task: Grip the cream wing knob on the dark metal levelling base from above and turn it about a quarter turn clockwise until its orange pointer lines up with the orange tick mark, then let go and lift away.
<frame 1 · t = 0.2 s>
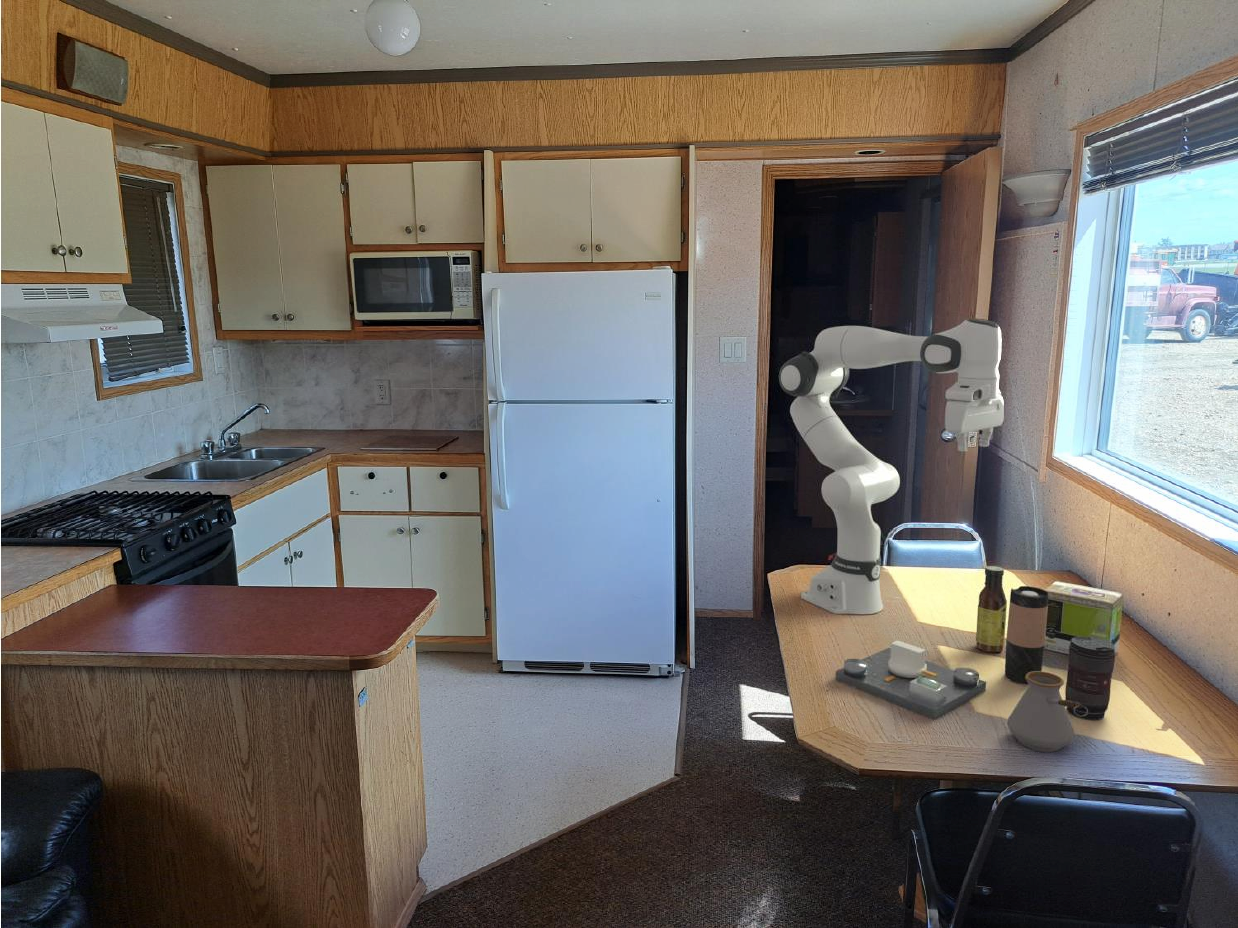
hand: (973, 448, 204), 48 cm above the table, tool pointing down, fingers open, 8 cm apart
tea box: (1077, 650, 207), on the table
sauce bottle: (989, 649, 208), on the table
camera lens: (1085, 713, 176), on the table
coffee pot: (1049, 755, 160), on the table
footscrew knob: (913, 660, 190), point 5 cm above the table, hinge at 0.0°
levelling base: (909, 684, 189), on the table
travel mug: (1022, 678, 192), on the table
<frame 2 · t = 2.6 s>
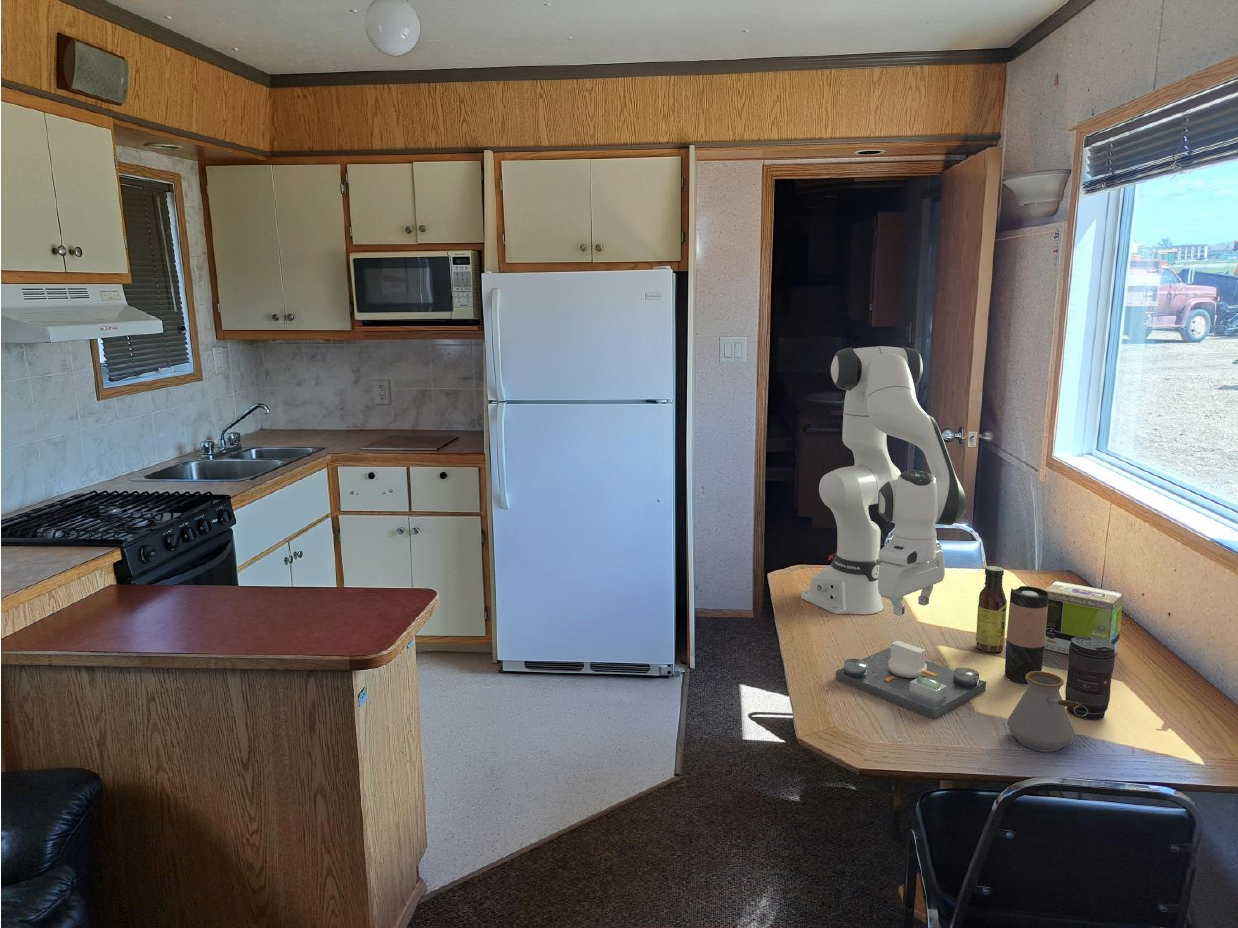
hand: (911, 609, 188), 16 cm above the table, tool pointing down, fingers open, 8 cm apart
nothing on the table moved.
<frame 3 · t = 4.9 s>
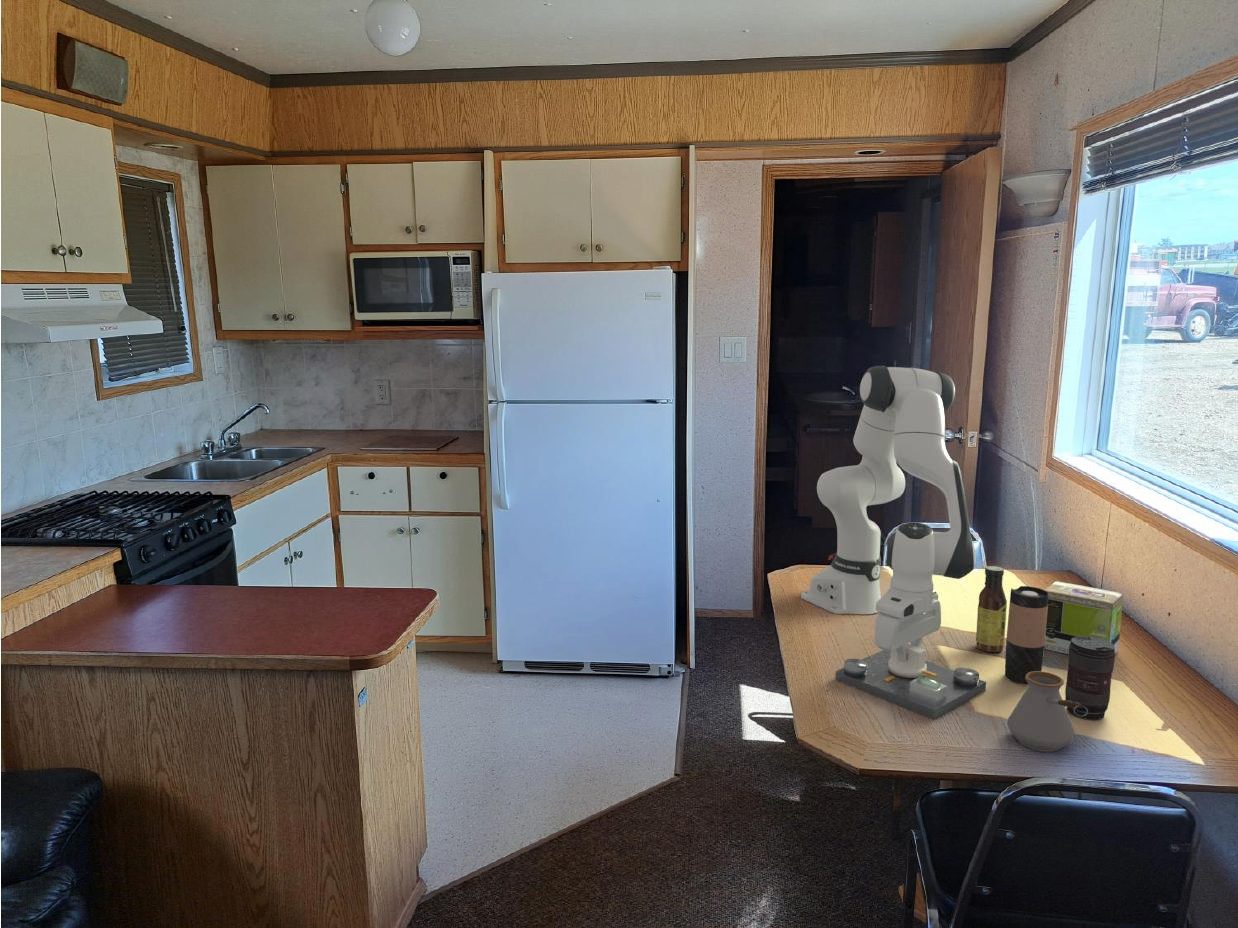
hand: (907, 658, 191), 5 cm above the table, tool pointing down, fingers closed on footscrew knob, 2 cm apart
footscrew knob: (913, 660, 190), point 5 cm above the table, hinge at 0.0°, touching gripper
everything else where it was.
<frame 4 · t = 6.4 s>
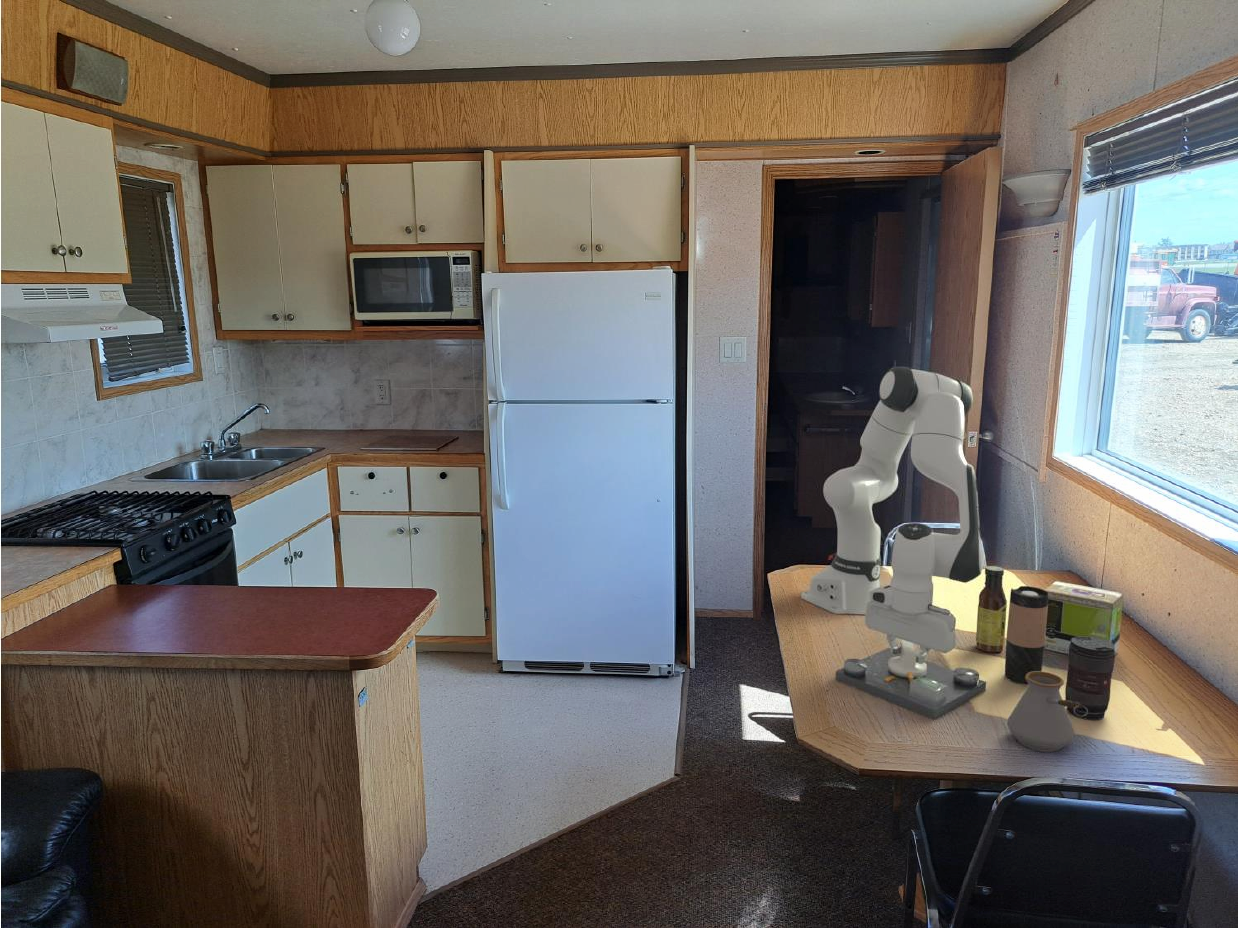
hand: (907, 658, 191), 5 cm above the table, tool pointing down, fingers closed on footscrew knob, 4 cm apart
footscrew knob: (908, 661, 189), point 5 cm above the table, hinge at -50.4°, touching gripper
everything else where it was.
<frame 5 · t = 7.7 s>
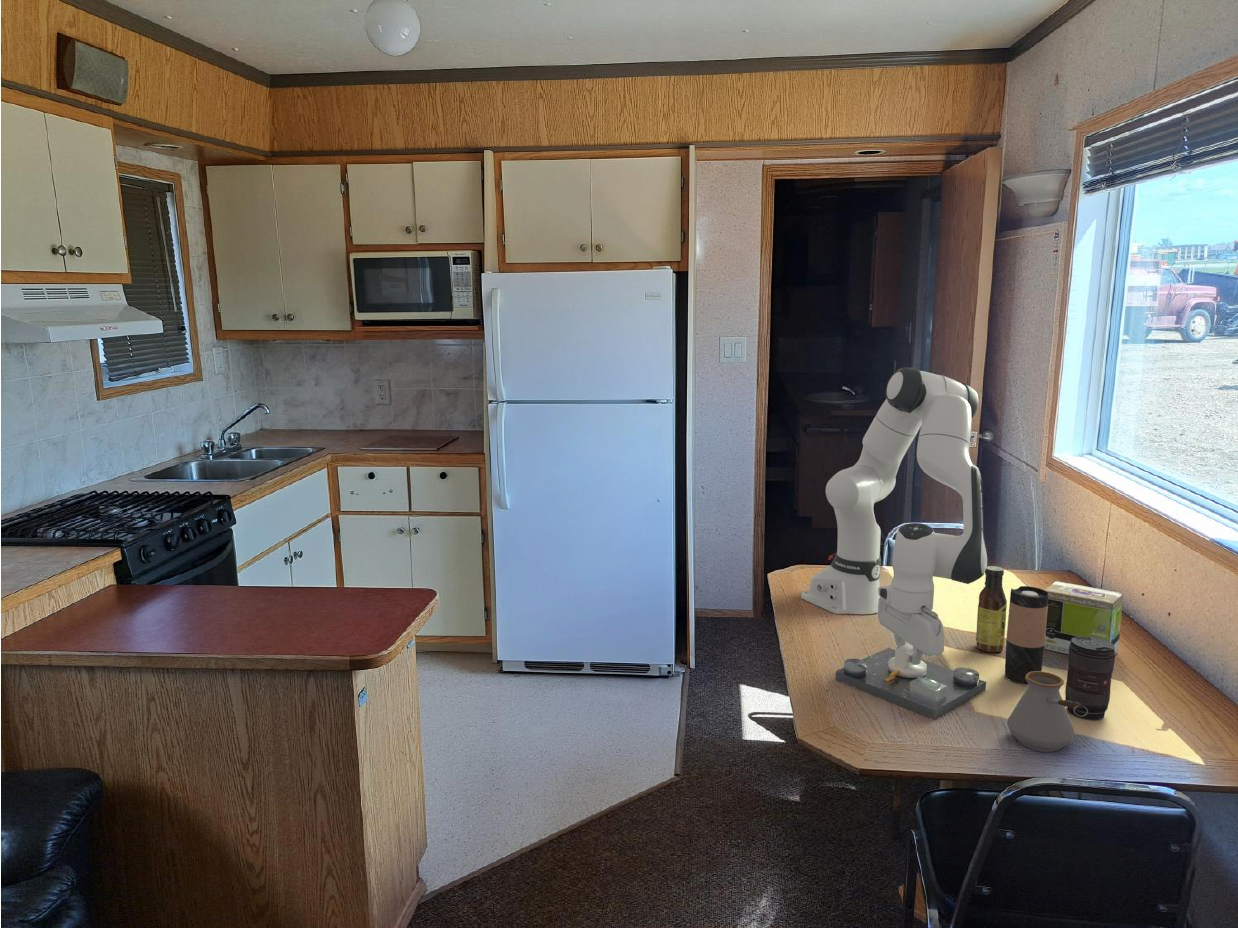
hand: (908, 658, 191), 5 cm above the table, tool pointing down, fingers closed on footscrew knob, 3 cm apart
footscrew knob: (904, 660, 190), point 5 cm above the table, hinge at -84.8°, touching gripper
everything else where it was.
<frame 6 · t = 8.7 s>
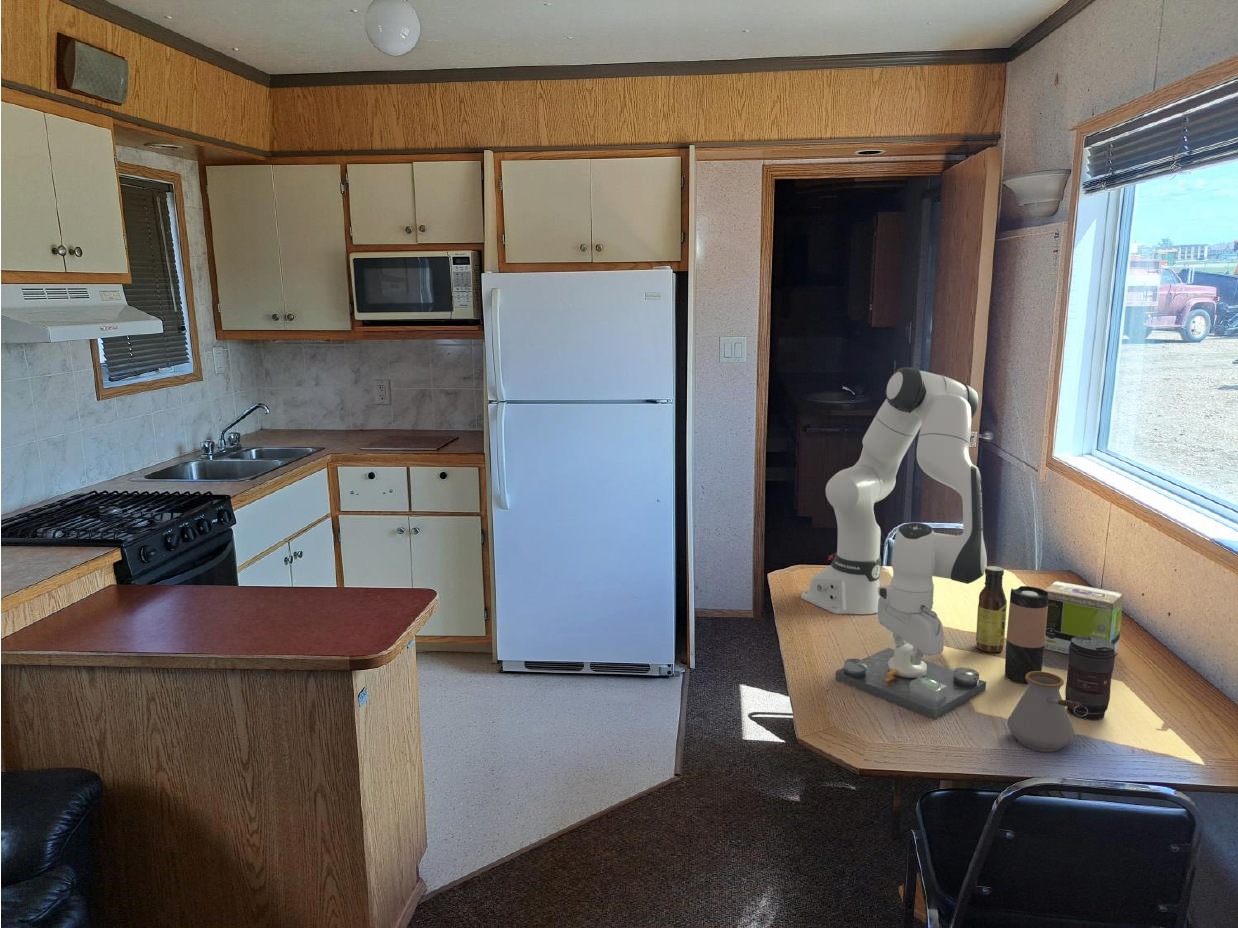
hand: (907, 658, 191), 5 cm above the table, tool pointing down, fingers open, 4 cm apart
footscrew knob: (903, 660, 190), point 5 cm above the table, hinge at -89.8°
everything else where it was.
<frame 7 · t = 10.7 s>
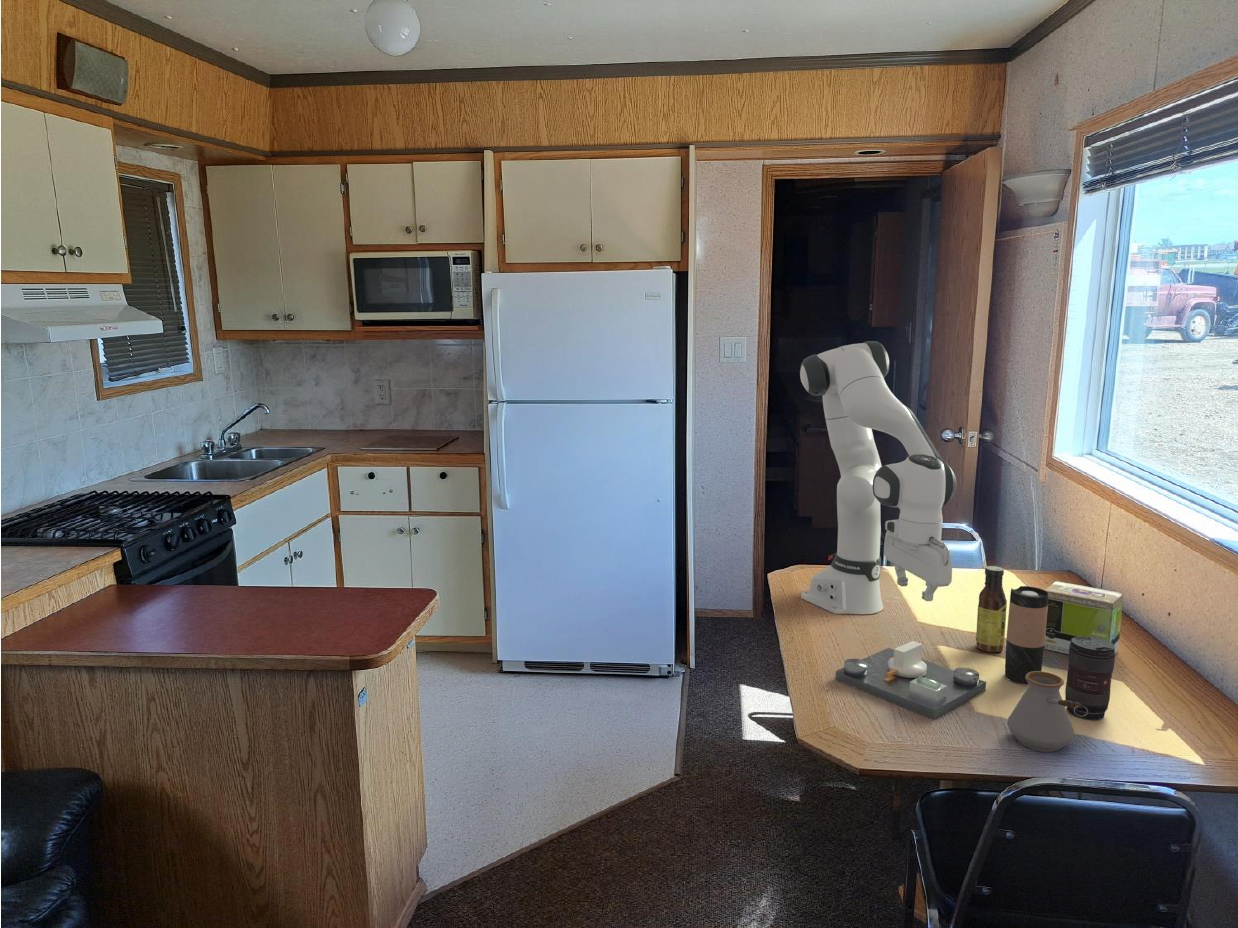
hand: (914, 592, 189), 20 cm above the table, tool pointing down, fingers open, 8 cm apart
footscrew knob: (903, 660, 190), point 5 cm above the table, hinge at -90.9°
everything else where it was.
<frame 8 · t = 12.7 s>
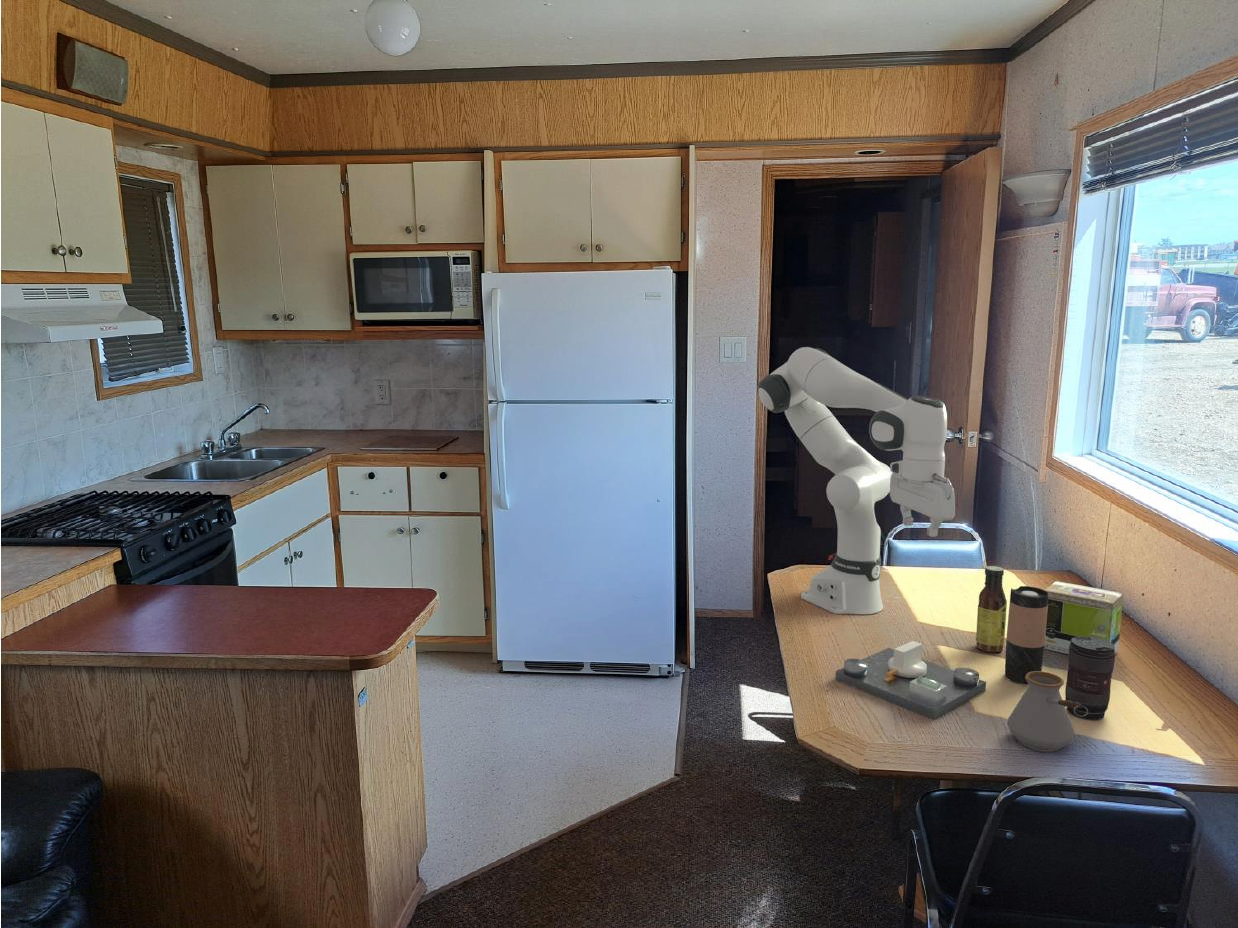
hand: (919, 530, 196), 31 cm above the table, tool pointing down, fingers open, 8 cm apart
nothing on the table moved.
at the end: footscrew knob at -91° (first picture: +0°); the gripper is holding nothing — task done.
